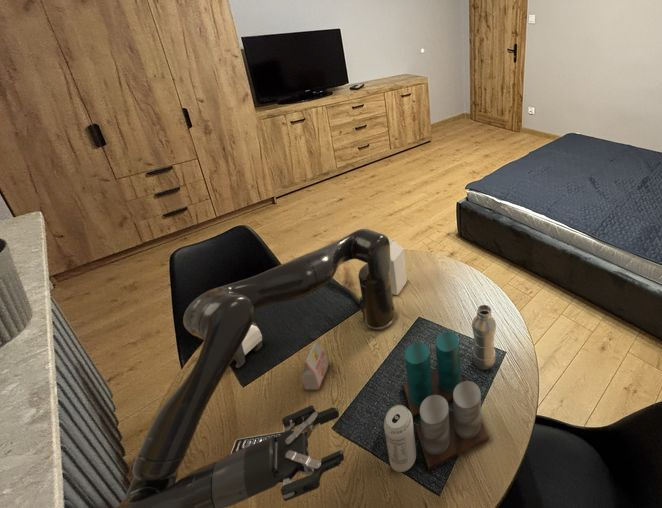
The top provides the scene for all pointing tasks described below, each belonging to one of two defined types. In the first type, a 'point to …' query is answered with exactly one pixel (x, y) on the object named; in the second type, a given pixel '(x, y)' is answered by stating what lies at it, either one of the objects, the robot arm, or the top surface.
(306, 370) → the pink white gabled box
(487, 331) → the plastic bottle
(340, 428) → the top surface
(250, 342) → the giant panda
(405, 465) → the energy drink can
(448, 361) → the can rack
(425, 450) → the tin rack
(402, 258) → the milk carton
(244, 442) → the white black flat block
